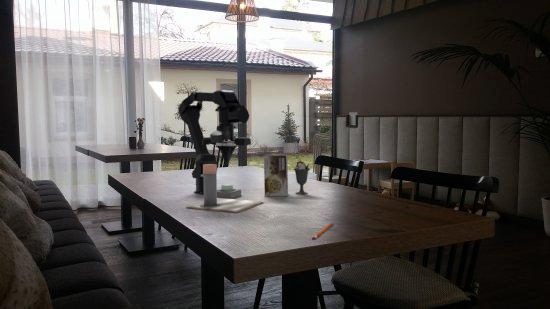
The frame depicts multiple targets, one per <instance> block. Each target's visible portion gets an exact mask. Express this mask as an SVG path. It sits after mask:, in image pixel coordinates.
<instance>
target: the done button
mask: <svg viewBox="0 0 550 309" xmlns="http://www.w3.org/2000/svg"><path fill="white" fill-rule="evenodd" d="M221 189H222V191H226V192H231V191H233V189H234V184H228V183H227V184H221Z"/></svg>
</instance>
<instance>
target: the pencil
mask: <svg viewBox="0 0 550 309" xmlns="http://www.w3.org/2000/svg"><path fill="white" fill-rule="evenodd" d="M333 226H334V222H330V223H329V224H328V225H327V226H325V227H324V228H323V229H321V230H320V231H319V232H318V233H316V234H315V235H314V236H312V237H311V240H313V239H315V240H316V239H318V238H319V237H320V236H321V235H323V234H324V233H325V232H326V231H327V229H328V230H329V229H330V228H331V227H333ZM323 232H324V233H323ZM322 233H323V234H322ZM318 236H319V237H318ZM317 237H318V238H317Z"/></svg>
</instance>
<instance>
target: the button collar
mask: <svg viewBox="0 0 550 309" xmlns="http://www.w3.org/2000/svg"><path fill="white" fill-rule="evenodd" d="M241 196H242V189H241V188H233V191H231V192H226V191H222V188H220V189H217V198H224V199H235V198H238V197H241Z"/></svg>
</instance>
